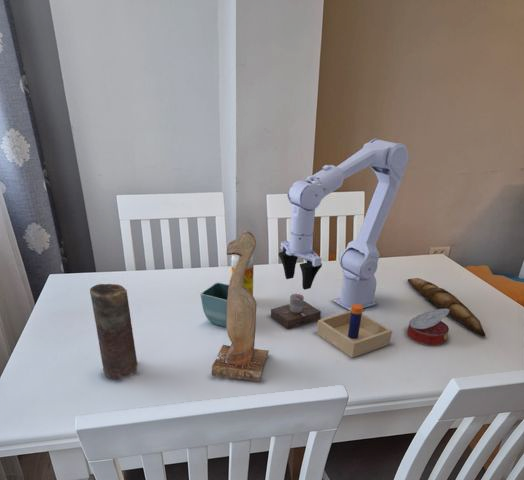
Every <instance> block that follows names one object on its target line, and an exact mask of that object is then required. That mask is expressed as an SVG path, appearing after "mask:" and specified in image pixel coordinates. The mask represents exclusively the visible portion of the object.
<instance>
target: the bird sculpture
mask: <svg viewBox="0 0 524 480" xmlns="http://www.w3.org/2000/svg"><path fill="white" fill-rule="evenodd" d="M256 247H257V241H256V238H255V235H254V234H253V233H252V232H251V231H249V230H243V231H242V233H241V235H240V236H238V237H237V238H235V239H233V240H231V241H229V243H228V244H227V249H226V255H227V256H228V255H229V256H232V255H233V254H236V255H239V259H238V262H237V264H236V267H235V269H234V271H233V274H232V273H231V275H230V279H229V283H228V285H229V287H228V297H227V324H226V327H225V328H226V333H227V337H228V338H229V340H230V343H231V344H230V345H227V344H222V346H221V347H220V350H219V352H218V353H217V354H218V355H217V357H218V358H215V360H214V361H213V363H212V366H211V371H210V373H211V376H214V377H215V376H216V377H222V378H228V379H233V380H234V379H237V380H243V381H251V382H261V376H262V371H263V367H264V364H265V362H266V359H267V357H268V355H269V352H270V351H269V350H268V349H259V348H255V342H256V341H255V340H256V330H257V302H256V299H255V296H254V294H253V295H252V294H251V293H250V292H249V291H248V290H247V289H246V288H245V287H244V286H243V282H244V276H245V273H246V269H247V266H248V264H249V261H250V258H251V256H252V255H253V253H254V251H255V249H256Z"/></svg>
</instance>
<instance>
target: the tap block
mask: <svg viewBox="0 0 524 480" xmlns="http://www.w3.org/2000/svg"><path fill="white" fill-rule="evenodd" d="M289 308H290V303H287V304H285V305H280V306H277V307H274V308H270V318H271V319H273V320H274V321H275V322H277V323H278V324H279V325H280V326H282V327H284V328H285V329H287V330H290V329H293V328H297V327H301V326H303V325H307V324H310V323H313V322H316V321H317V322H318V320H321V315H322V311H321V310H319V309H318V308H317V307H315V306H313V305H311V304H310V303H308V302H307V301H305V300H303V311H302V312H300V313H293V312H291V311H290V310H289Z"/></svg>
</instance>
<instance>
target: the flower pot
mask: <svg viewBox="0 0 524 480" xmlns="http://www.w3.org/2000/svg"><path fill="white" fill-rule="evenodd" d="M228 287H229V284H227V283H224V282H223V283H222V282H214V283H213V284H212V285H210V286H209V287H208V288H207V289H204V290H203V291H202V292H201V293H200V300H201V305H202V311H203V313H204V315H205V317H206V319H207V320H208V322H209V323H211V324H213V325H217V326H221V327H225V328H227V327H226V324H227V297H228Z"/></svg>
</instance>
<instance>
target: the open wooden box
mask: <svg viewBox="0 0 524 480" xmlns="http://www.w3.org/2000/svg"><path fill="white" fill-rule="evenodd" d="M350 317H351V311H350V310H348V311H345V312H341V313H338V314H334V315H331V316H328V317H325V318H320V320H317V328H316V334H317V336H319V337H320V338H322V339H324V340H325V341H327V342H328V343H330V344H331V345H332V346H334V347H335V348H336V349H338V350H340V351H341V352H343V353H344V354H346V355H347V356H349V358H351V359H353V358H356V357H359V356H361V355H364V354H367V353H370V352H373V351H375V350H378V349H381V348H384V347H386V346H390V344H391V338H392V334H393V330H392V329H390V328H389V327H386V326H385V325H383V324H382V323H380V322H378V321H376V320H375V319H372V318H371V317H369V316H367V315H366V314H364V313H362V316H361V322H360V328H359V335H358V338H357V339H351V338H349V337H348V331H349V324H350Z"/></svg>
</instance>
